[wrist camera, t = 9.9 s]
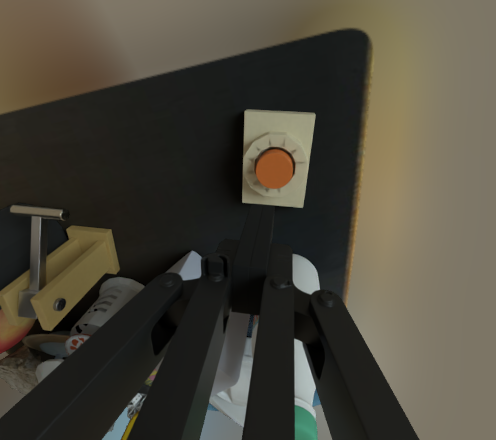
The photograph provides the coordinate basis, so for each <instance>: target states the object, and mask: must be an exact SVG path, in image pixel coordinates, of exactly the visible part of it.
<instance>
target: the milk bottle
mask: <svg viewBox="0 0 496 440" xmlns="http://www.w3.org/2000/svg"><path fill="white" fill-rule="evenodd" d="M293 283H294V285H295V286H296V287H297V288H298V289H300V290H301V291H303V292H305V293H308V294H312V293H313V292H314V291H316V290H320V287H319V279H318V274H317V271H316V269H315V267H314V266H313V264H312V263H311V262H310V261H308V260H307V259H305V258H304V257H302V256H300V255H296V254H293ZM258 321H259V315H254V321H253V329H252V339H251V350H252V358H253V357H254V350H255V343H256V335H257V328H258ZM294 363H295V440H317V425H316V421H315V419H316V413H315V410H314V409H313V407H312V403H313V397H314V392H315V389H316V386H315V383H314V380H313V377H312V374H311V370H310V367H309V364H308V361H307V358H306V355H305V352H304V348H303V344H302V342H301V341H299V340H297V339H294Z"/></svg>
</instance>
